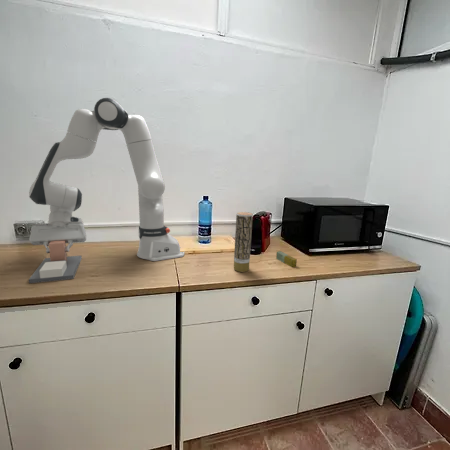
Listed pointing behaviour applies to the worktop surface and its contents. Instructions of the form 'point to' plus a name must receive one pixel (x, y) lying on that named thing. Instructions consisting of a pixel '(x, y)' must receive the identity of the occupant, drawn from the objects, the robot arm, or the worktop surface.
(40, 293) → the worktop surface
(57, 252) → the salmon pink rectangular block
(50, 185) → the robot arm
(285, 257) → the medication box
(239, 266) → the paper tube
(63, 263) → the stand
